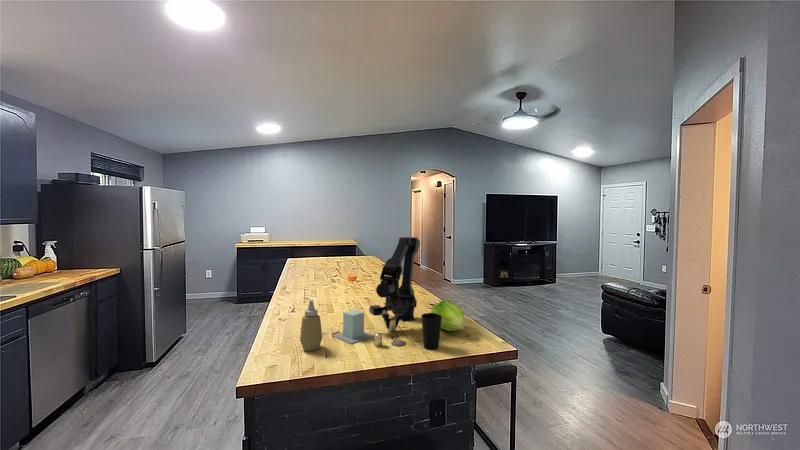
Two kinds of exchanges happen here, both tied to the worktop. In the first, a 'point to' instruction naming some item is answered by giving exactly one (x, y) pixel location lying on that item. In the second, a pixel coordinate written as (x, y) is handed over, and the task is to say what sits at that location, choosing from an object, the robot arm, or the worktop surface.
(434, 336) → the cup
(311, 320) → the squeeze bottle
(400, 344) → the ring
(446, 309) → the lettuce
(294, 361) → the worktop surface
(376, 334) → the pin
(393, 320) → the peg
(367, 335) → the mat
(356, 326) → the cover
